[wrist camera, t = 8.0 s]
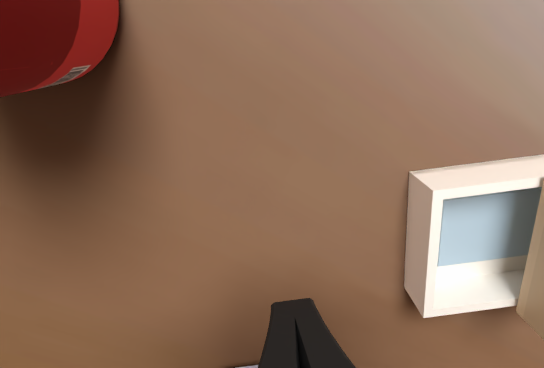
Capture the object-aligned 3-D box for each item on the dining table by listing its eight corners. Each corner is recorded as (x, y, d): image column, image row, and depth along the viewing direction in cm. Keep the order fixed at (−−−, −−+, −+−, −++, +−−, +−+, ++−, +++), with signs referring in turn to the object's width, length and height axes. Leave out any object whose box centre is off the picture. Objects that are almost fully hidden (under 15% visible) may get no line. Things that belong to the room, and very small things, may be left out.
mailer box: (583, 149, 21) (633, 165, 18) (553, 267, 25) (591, 295, 22) (409, 171, 21) (433, 191, 18) (404, 287, 25) (423, 317, 22)
